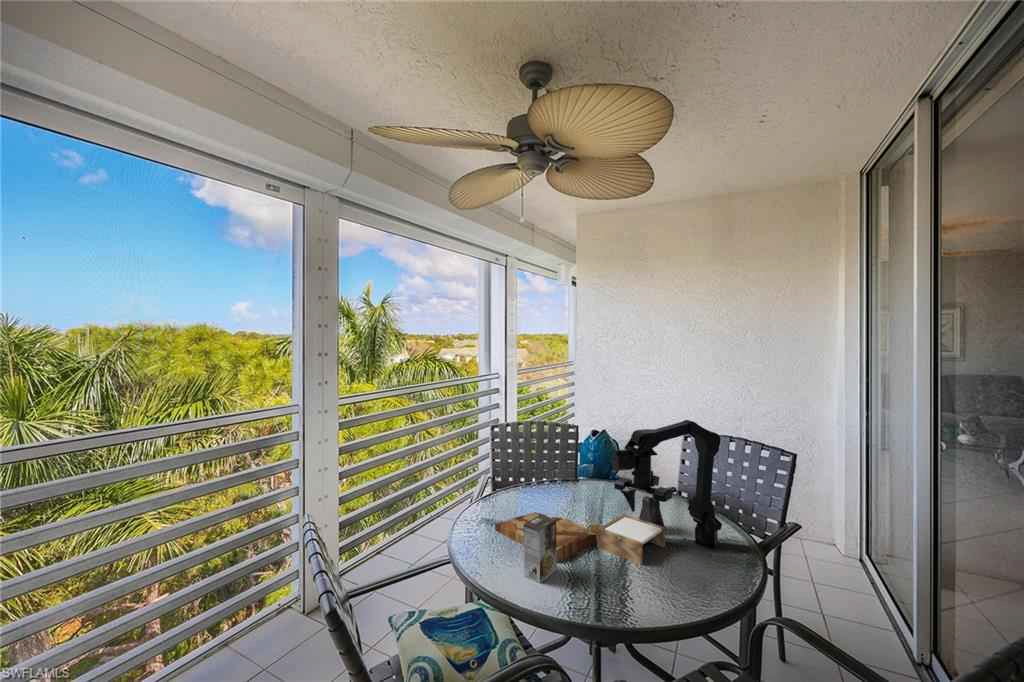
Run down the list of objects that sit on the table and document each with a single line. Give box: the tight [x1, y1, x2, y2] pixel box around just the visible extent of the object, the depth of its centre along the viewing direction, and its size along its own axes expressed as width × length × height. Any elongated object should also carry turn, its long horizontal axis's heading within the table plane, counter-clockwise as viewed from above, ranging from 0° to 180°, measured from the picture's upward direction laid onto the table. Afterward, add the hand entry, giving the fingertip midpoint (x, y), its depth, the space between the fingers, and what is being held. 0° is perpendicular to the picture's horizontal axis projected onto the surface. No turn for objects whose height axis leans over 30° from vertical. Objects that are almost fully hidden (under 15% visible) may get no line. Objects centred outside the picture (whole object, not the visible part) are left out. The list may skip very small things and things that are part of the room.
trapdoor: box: [604, 517, 662, 546], centre depth 150 cm, size 14×14×3 cm
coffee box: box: [523, 515, 558, 584], centre depth 134 cm, size 9×6×16 cm
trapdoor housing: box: [596, 514, 666, 566], centre depth 151 cm, size 16×18×6 cm
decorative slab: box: [494, 511, 598, 563], centre depth 159 cm, size 32×22×5 cm
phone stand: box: [638, 495, 667, 532], centre depth 164 cm, size 9×6×12 cm, turn 117°
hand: (642, 514), depth 148 cm, fingers open, 6 cm apart
